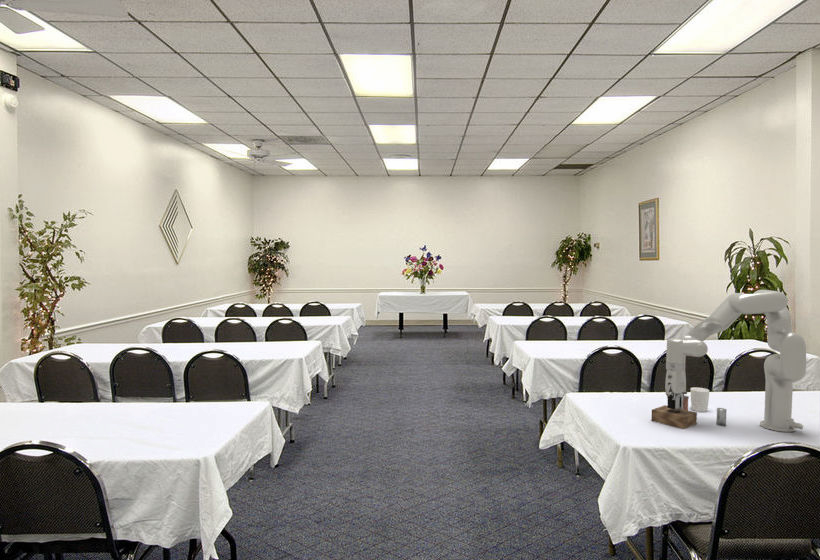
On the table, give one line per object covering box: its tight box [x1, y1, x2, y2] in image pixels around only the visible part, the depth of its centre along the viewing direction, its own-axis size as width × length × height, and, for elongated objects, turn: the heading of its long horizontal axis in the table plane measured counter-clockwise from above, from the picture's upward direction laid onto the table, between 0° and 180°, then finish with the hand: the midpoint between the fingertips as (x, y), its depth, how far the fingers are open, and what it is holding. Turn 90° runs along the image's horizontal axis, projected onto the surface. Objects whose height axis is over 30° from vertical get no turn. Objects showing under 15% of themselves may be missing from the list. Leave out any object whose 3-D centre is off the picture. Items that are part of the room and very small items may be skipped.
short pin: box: [716, 407, 727, 427], centre depth 226 cm, size 4×4×7 cm
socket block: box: [650, 404, 698, 430], centre depth 229 cm, size 14×12×5 cm
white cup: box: [690, 387, 710, 413], centre depth 248 cm, size 8×8×10 cm
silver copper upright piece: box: [682, 390, 690, 411], centre depth 246 cm, size 8×3×10 cm, turn 62°
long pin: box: [670, 391, 680, 413], centre depth 229 cm, size 4×4×14 cm
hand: (674, 406), depth 228 cm, fingers open, 4 cm apart
